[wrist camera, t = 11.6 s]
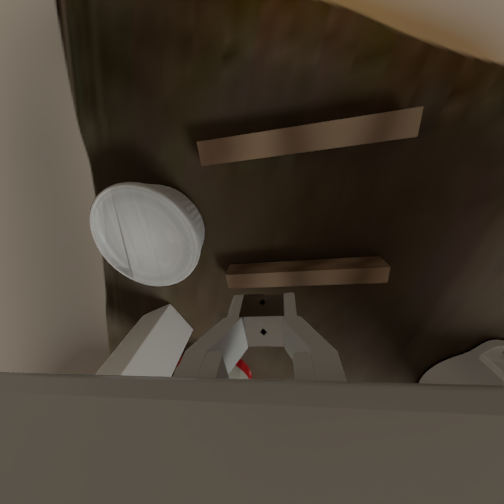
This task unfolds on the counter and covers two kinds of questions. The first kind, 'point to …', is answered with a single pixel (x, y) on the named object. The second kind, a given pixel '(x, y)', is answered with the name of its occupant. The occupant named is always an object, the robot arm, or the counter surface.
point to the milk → (150, 346)
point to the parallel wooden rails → (308, 140)
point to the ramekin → (147, 232)
